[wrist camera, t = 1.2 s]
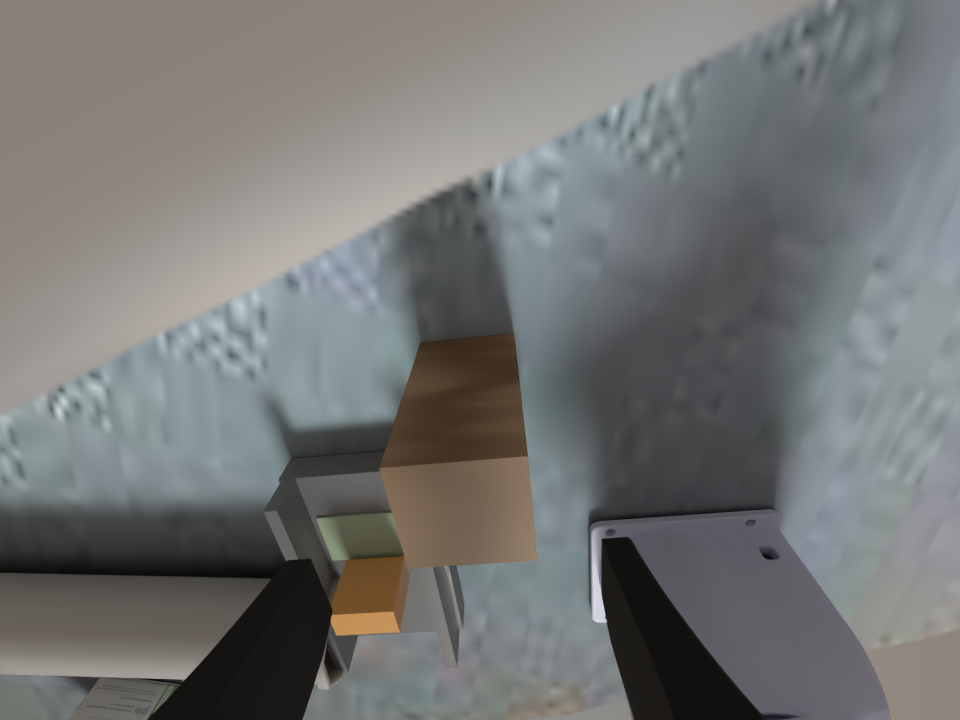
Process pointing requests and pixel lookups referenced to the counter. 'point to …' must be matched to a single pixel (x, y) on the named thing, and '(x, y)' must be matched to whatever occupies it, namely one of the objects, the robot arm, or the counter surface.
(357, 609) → the switch knob
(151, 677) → the tube
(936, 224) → the counter surface
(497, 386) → the walnut peg
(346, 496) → the grey open tray
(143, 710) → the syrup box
